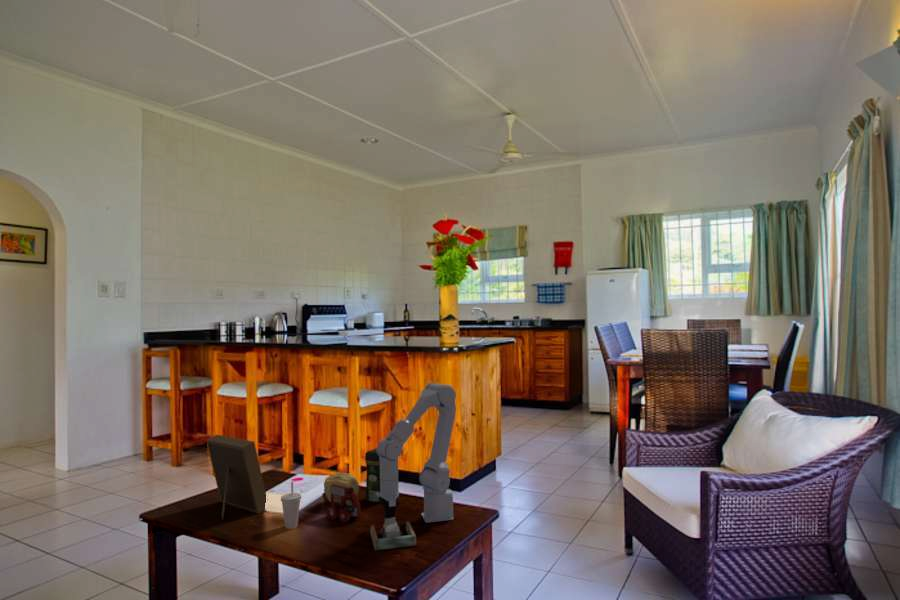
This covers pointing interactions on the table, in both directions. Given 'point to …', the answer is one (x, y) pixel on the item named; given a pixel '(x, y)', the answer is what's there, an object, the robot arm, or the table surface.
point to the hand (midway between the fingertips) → (389, 522)
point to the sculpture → (340, 483)
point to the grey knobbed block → (390, 528)
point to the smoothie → (291, 508)
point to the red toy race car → (343, 503)
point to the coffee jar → (372, 476)
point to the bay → (394, 539)
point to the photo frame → (237, 473)
